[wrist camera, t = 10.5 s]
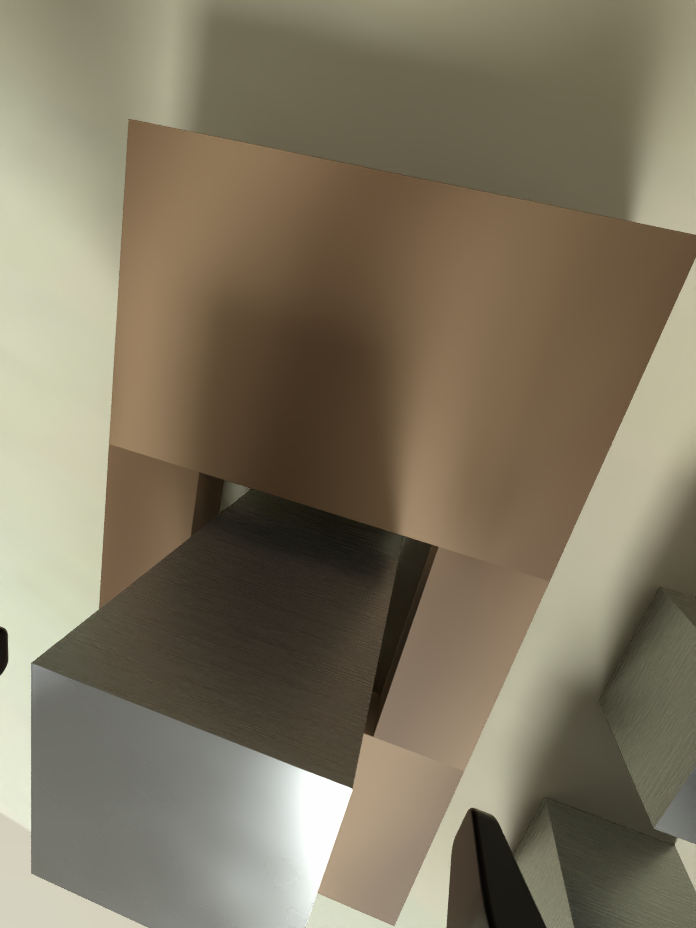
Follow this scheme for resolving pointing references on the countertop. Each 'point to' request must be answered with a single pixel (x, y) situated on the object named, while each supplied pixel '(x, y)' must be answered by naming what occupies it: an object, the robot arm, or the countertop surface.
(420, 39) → the countertop surface
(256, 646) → the long pin
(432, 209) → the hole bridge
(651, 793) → the grey metal cube
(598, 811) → the countertop surface
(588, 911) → the medium pin
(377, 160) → the countertop surface
